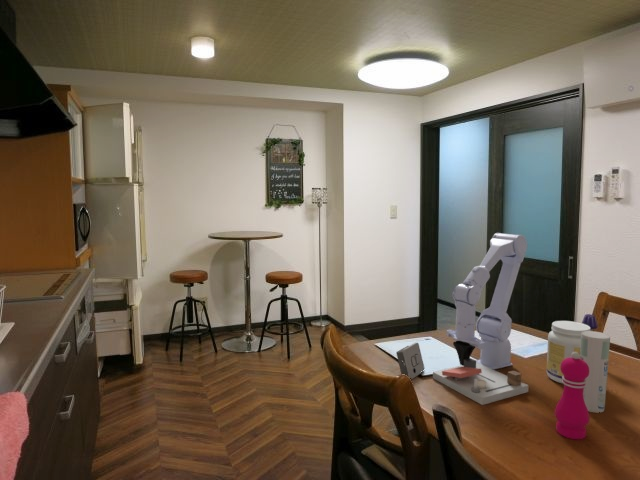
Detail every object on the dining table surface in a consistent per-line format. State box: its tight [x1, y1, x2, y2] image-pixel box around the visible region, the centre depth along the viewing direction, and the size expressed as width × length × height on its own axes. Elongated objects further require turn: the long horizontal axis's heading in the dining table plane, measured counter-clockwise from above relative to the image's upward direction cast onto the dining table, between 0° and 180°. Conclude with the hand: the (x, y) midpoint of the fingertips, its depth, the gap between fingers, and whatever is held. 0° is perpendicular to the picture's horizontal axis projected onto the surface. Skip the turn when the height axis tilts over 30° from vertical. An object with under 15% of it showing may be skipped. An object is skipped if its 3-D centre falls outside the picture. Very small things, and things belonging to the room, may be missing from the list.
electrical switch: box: [396, 342, 425, 380], centre depth 146 cm, size 9×5×9 cm, turn 141°
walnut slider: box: [506, 370, 522, 386], centre depth 133 cm, size 2×3×3 cm
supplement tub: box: [545, 320, 590, 384], centre depth 141 cm, size 12×12×17 cm
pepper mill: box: [554, 352, 590, 440], centre depth 109 cm, size 7×7×20 cm
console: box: [432, 362, 529, 406], centre depth 137 cm, size 18×20×6 cm
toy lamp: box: [581, 313, 598, 331], centre depth 153 cm, size 5×5×17 cm
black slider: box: [464, 357, 477, 368], centre depth 143 cm, size 3×2×3 cm
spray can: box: [580, 331, 611, 414], centre depth 122 cm, size 6×6×20 cm
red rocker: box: [442, 367, 482, 378], centre depth 137 cm, size 8×8×1 cm
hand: (463, 364), depth 145 cm, fingers closed
